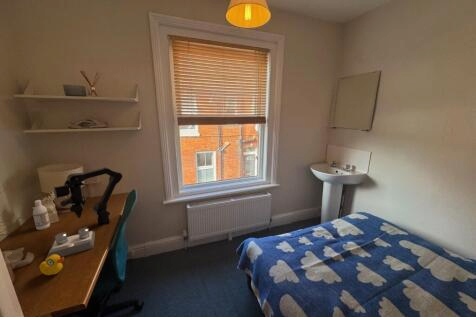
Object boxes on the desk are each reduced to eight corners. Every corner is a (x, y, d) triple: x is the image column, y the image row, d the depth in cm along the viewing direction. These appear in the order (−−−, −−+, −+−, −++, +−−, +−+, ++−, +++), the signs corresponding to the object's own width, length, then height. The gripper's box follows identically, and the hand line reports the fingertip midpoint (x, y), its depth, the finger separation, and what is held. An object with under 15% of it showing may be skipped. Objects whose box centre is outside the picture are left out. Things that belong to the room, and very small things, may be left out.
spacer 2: (89, 233, 125) (88, 226, 124) (89, 237, 121) (88, 230, 120) (80, 236, 123) (78, 229, 122) (79, 240, 119) (77, 233, 118)
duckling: (70, 268, 101) (67, 251, 99) (62, 276, 96) (58, 259, 94) (47, 269, 101) (43, 252, 98) (37, 277, 95) (33, 259, 93)
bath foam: (47, 228, 136) (42, 201, 132) (34, 231, 133) (28, 203, 129) (51, 223, 142) (46, 198, 138) (39, 225, 139) (33, 199, 135)
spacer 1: (68, 238, 120) (66, 231, 119) (67, 242, 116) (66, 234, 115) (57, 242, 117) (55, 234, 116) (56, 246, 113) (54, 238, 112)
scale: (94, 234, 130) (93, 228, 129) (93, 248, 117) (91, 241, 116) (54, 244, 120) (53, 237, 119) (47, 260, 106) (45, 253, 105)
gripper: (63, 190, 131) (67, 212, 135) (56, 200, 116) (61, 224, 119) (84, 187, 137) (87, 208, 141) (80, 197, 122) (84, 219, 125)
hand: (80, 214), depth 131 cm, fingers open, 9 cm apart
